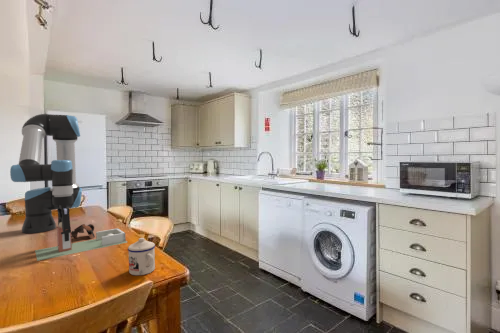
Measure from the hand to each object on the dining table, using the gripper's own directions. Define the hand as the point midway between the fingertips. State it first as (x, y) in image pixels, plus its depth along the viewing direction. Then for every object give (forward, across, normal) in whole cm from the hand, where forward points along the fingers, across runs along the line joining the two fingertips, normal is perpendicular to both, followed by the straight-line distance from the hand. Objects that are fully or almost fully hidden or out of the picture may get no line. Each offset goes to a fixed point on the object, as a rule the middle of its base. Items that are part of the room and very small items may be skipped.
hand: (64, 244), depth 120 cm
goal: (+2, 0, +18) cm, 19 cm away
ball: (0, +2, +18) cm, 18 cm away
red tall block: (+2, 0, 0) cm, 2 cm away
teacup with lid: (+2, +46, +18) cm, 49 cm away
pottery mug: (+3, -14, +10) cm, 18 cm away
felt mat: (+2, 0, +7) cm, 7 cm away
